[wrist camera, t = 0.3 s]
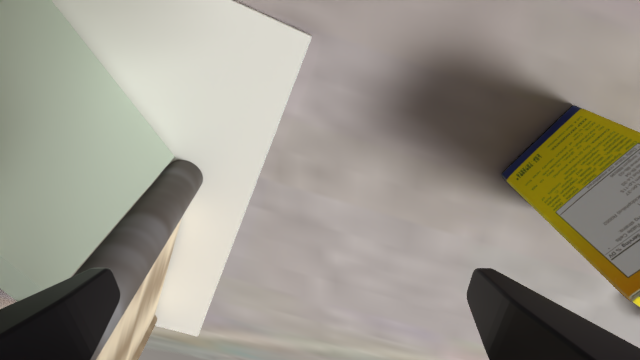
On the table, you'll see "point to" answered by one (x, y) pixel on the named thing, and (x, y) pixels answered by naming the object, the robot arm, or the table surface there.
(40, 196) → the pale green flat panel
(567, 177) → the supplement box
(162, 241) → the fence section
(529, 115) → the table surface
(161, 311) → the board
